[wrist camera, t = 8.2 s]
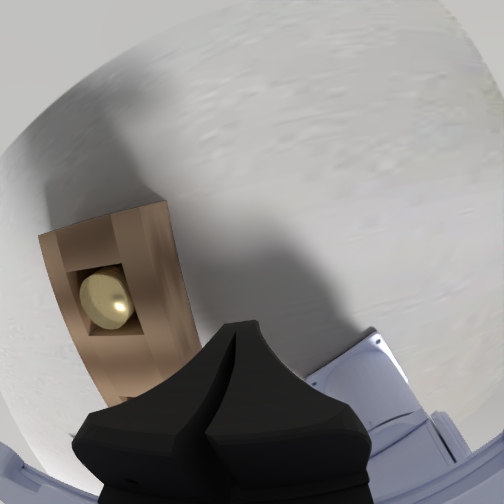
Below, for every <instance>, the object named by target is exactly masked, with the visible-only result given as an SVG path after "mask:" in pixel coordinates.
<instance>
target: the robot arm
mask: <svg viewBox="0 0 504 504" xmlns="http://www.w3.org/2000/svg"><path fill="white" fill-rule="evenodd" d="M378 339H379V340H378ZM376 340H378V341H377V342H376ZM314 382H316V383H314ZM408 382H409V381H408V379H407V377H406V375H405V374H404V372H403V370H402V369H401V367H400V365H399V364H398V362H397V360H396V359H395V357H394V356H393V354H392V352H391V351H390V349H389V347H388V346H387V344H386V343H385V341H384V340H383V338H382V336H381V335H380V333H379V332H373V333H372V334H370V335H369V336H368V337H366V338H365V339H364V340H362V341H361V342H360V343H358V344H357V345H355V346H354V347H352V348H351V349H350V350H348V351H347V352H345V353H344V354H342V355H341V356H339V357H338V358H336V359H335V360H333V361H332V362H330V363H329V364H327V365H326V366H324V367H323V368H321V369H319V370H318V371H316V372H315V373H313V374H311V375H310V376H308V377H307V378H306V382H304V381H303V380H301V379H300V378H298V377H297V376H296V375H295V374H294V373H292V372H291V371H290V370H289V369H288V368H287V367H286V366H285V365H284V364H283V363H282V362H281V361H280V360H279V359H278V358H277V356H276V355H275V354H274V353H273V351H272V350H271V349H270V347H269V346H268V344H267V343H266V341H265V339H264V338H263V336H262V334H261V332H260V327H259V322H258V321H256V320H250V321H243V322H236V323H229V324H224V325H223V326H222V327H221V328H220V329H219V330H218V332H217V333H216V334H215V335H214V336H213V337H212V339H211V340H210V341H209V342H208V343H207V344H206V345H205V346H204V347H203V348H202V350H200V351H199V352H198V353H197V354H196V355H195V356H194V357H193V358H192V359H191V360H190V361H189V362H188V363H187V364H186V365H185V366H183V367H182V368H181V369H180V370H179V371H177V372H176V373H175V374H173V375H172V376H171V377H169V378H168V379H166V380H165V381H163V382H162V383H160V384H158V385H157V386H155V387H153V388H152V389H150V390H148V391H147V392H145V393H143V394H141V395H139V396H137V397H135V398H132V399H130V400H128V401H125V402H123V403H121V404H118V405H115V406H112V407H109V408H106V409H103V410H99V411H96V412H92V413H89V415H88V416H87V418H86V419H85V421H84V423H83V424H82V426H81V428H80V429H79V431H78V433H77V434H76V436H75V438H74V439H73V441H72V449H73V451H74V453H75V455H76V457H77V458H78V459H79V460H80V461H81V463H82V464H83V465H84V466H85V467H86V468H87V469H88V470H89V471H90V472H91V473H92V474H93V475H95V476H96V477H97V478H98V479H99V480H100V481H101V482H102V483H103V484H104V486H103V489H102V491H101V494H100V496H96V495H93V494H91V493H88V492H85V491H83V490H80V489H77V488H75V487H73V486H70V485H68V484H66V483H63V482H61V481H59V480H57V479H55V478H53V477H50V476H48V475H46V474H44V473H42V472H41V471H39V470H36V469H35V468H33V467H31V466H29V465H28V464H26V463H24V461H23V460H22V459H21V458H20V457H19V455H17V453H16V452H14V451H13V450H12V449H11V448H10V447H8V446H6V445H5V444H3V443H2V442H0V500H1V501H2V502H3V503H5V504H504V430H503V432H502V433H500V434H499V435H498V436H496V437H495V438H493V440H491V441H489V442H488V443H486V444H485V445H484V446H482V447H481V448H479V449H478V450H476V451H474V452H473V453H472V452H471V450H470V448H469V447H468V445H467V443H466V442H465V440H464V438H463V437H462V435H461V434H460V432H459V430H458V429H457V427H456V426H455V424H454V423H453V421H452V420H451V418H450V417H449V416H448V414H447V413H446V412H438V411H435V412H434V413H433V414H431V415H430V416H431V418H432V420H433V421H434V422H433V421H432V420H431V418H430V417H429V416H428V415H427V413H426V412H425V411H424V409H423V408H422V406H421V405H420V403H419V401H418V400H417V398H416V397H415V395H414V394H413V392H412V390H411V389H410V387H409V386H408ZM312 383H314V384H312ZM434 423H435V424H434Z"/></svg>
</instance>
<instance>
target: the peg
mask: <svg viewBox="0 0 504 504" xmlns="http://www.w3.org/2000/svg"><path fill="white" fill-rule="evenodd" d="M80 301H81V305H82V307H83V309H84V311H85V313H86V314H87V316H88V317H89V318H90V319H91V320H92V321H93V322H94V323H95V324H97V325H98V326H100V327H102V328H105V329H117V328H120V327H121V326H123V324H124V323H125V322H126V321H127V320H128V319H129V317H130V316H131V315H132V314H133V313H134V312H135V310H136V309H135V306H134V303H133V300H132V297H131V293H130V290H129V287H128V283H127V280H126V277H125V273H124V269H123V266H122V263H119V264H113V265H107V266H105V267H103V268H102V269H100V270H98V271H97V272H95V273H94V274H92V275H91V276H89V277H88V278H86V279H85V280H84V281H83V283H82V285H81V288H80Z"/></svg>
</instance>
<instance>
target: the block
mask: <svg viewBox="0 0 504 504" xmlns="http://www.w3.org/2000/svg"><path fill="white" fill-rule="evenodd" d="M38 238H39V243H40V247H41V251H42V255H43V258H44V262H45V266H46V269H47V272H48V276H49V279H50V282H51V285H52V288H53V291H54V294H55V297H56V300H57V303H58V305H59V308H60V311H61V313H62V316H63V318H64V321H65V323H66V326H67V328H68V331H69V333H70V335H71V338H72V340H73V342H74V344H75V346H76V348H77V351H78V353H79V355H80V357H81V359H82V361H83V363H84V365H85V367H86V369H87V371H88V373H89V374H90V376H91V378H92V380H93V382H94V384H95V385H96V387H97V389H98V391H99V392H100V394H101V396H102V397H103V399H104V401H105V402H106V404H107V406H108V407H112V406H115V405H118V404H121V403H123V402H125V401H128V400H130V399H132V398H135V397H137V396H139V395H141V394H143V393H145V392H147V391H148V390H150V389H152V388H153V387H155V386H157V385H158V384H160V383H162V382H163V381H165V380H166V379H168V378H169V377H171V376H172V375H173V374H175V373H176V372H177V371H179V370H180V369H181V368H182V367H183V366H185V365H186V364H187V363H188V362H189V361H190V360H191V359H192V358H193V357H194V356H195V355H196V354H197V353H198V352H199V351H200V350H202V347H201V343H200V340H199V337H198V333H197V330H196V326H195V323H194V319H193V315H192V312H191V308H190V304H189V301H188V297H187V293H186V289H185V285H184V281H183V277H182V273H181V269H180V264H179V260H178V256H177V251H176V247H175V242H174V237H173V233H172V228H171V223H170V218H169V213H168V208H167V202H166V201H162V202H157V203H153V204H149V205H144V206H140V207H136V208H132V209H128V210H124V211H120V212H116V213H112V214H108V215H104V216H100V217H97V218H93V219H89V220H86V221H82V222H79V223H75V224H72V225H69V226H66V227H63V228H59V229H56V230H53V231H50V232H47V233H44V234H41V235H38ZM119 263H122V266H123V269H124V273H125V277H126V280H127V283H128V287H129V290H130V293H131V297H132V300H133V303H134V306H135V309H136V310H135V312H134V313H133V314H132V315H131V316H130V317H129V319H128V320H127V321H126V322H125V323H124V324H123V326H121V327H120V328H117V329H105V328H102V327H100V326H98V325H97V324H95V323H94V322H93V321H92V320H91V319H90V318H89V317H88V316H87V314H86V313H85V311H84V309H83V307H82V305H81V301H80V288H81V285H82V283H83V281H84V280H85V279H86V278H88V277H89V276H91V275H92V274H94V273H95V272H97V271H98V270H100V269H102V268H103V266H107V265H113V264H119Z"/></svg>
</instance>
